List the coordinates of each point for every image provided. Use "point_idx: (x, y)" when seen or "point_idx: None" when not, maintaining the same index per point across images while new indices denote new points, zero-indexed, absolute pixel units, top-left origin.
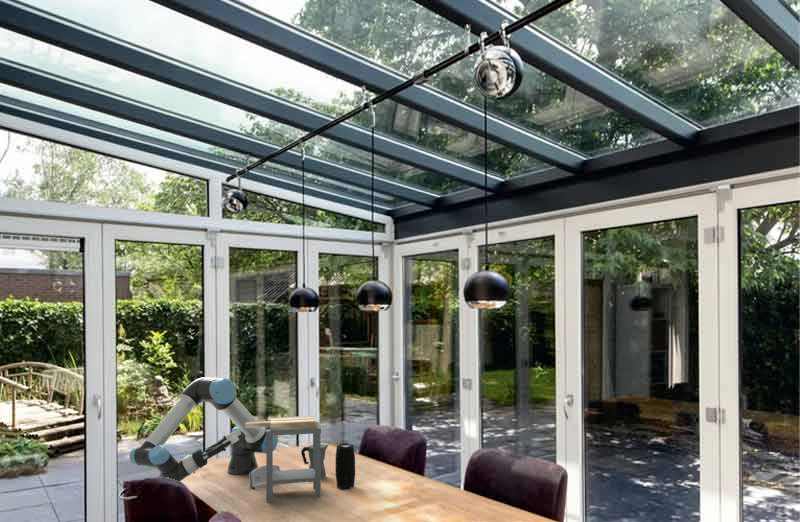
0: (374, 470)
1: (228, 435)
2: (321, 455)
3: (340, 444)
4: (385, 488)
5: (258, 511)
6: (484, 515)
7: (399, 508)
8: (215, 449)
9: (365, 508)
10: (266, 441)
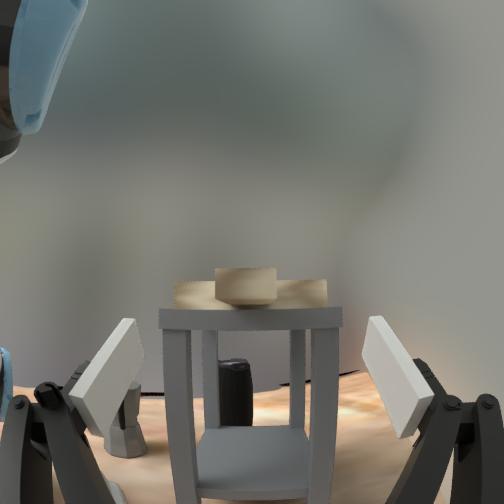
0: (147, 408)
1: (96, 380)
2: (139, 401)
3: (219, 363)
4: (259, 415)
5: None
6: (372, 380)
7: (359, 406)
8: (500, 444)
9: (364, 422)
10: (338, 350)
